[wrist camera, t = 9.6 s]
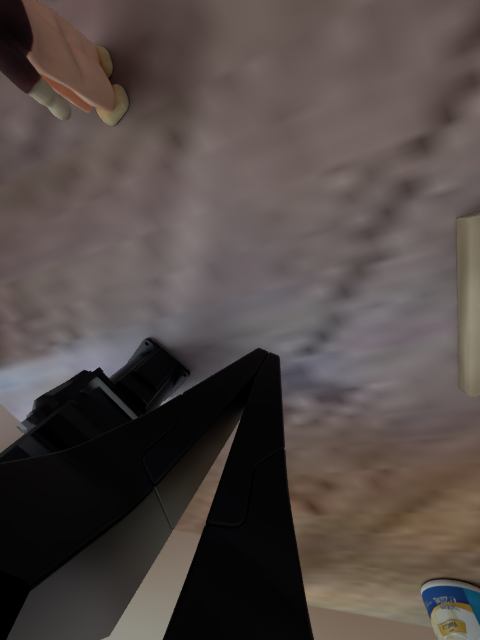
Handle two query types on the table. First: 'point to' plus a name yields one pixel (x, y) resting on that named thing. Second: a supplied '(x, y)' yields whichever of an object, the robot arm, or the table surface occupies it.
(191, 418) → the robot arm
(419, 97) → the table surface
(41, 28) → the grandmother figurine
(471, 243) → the keyhole track
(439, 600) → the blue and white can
